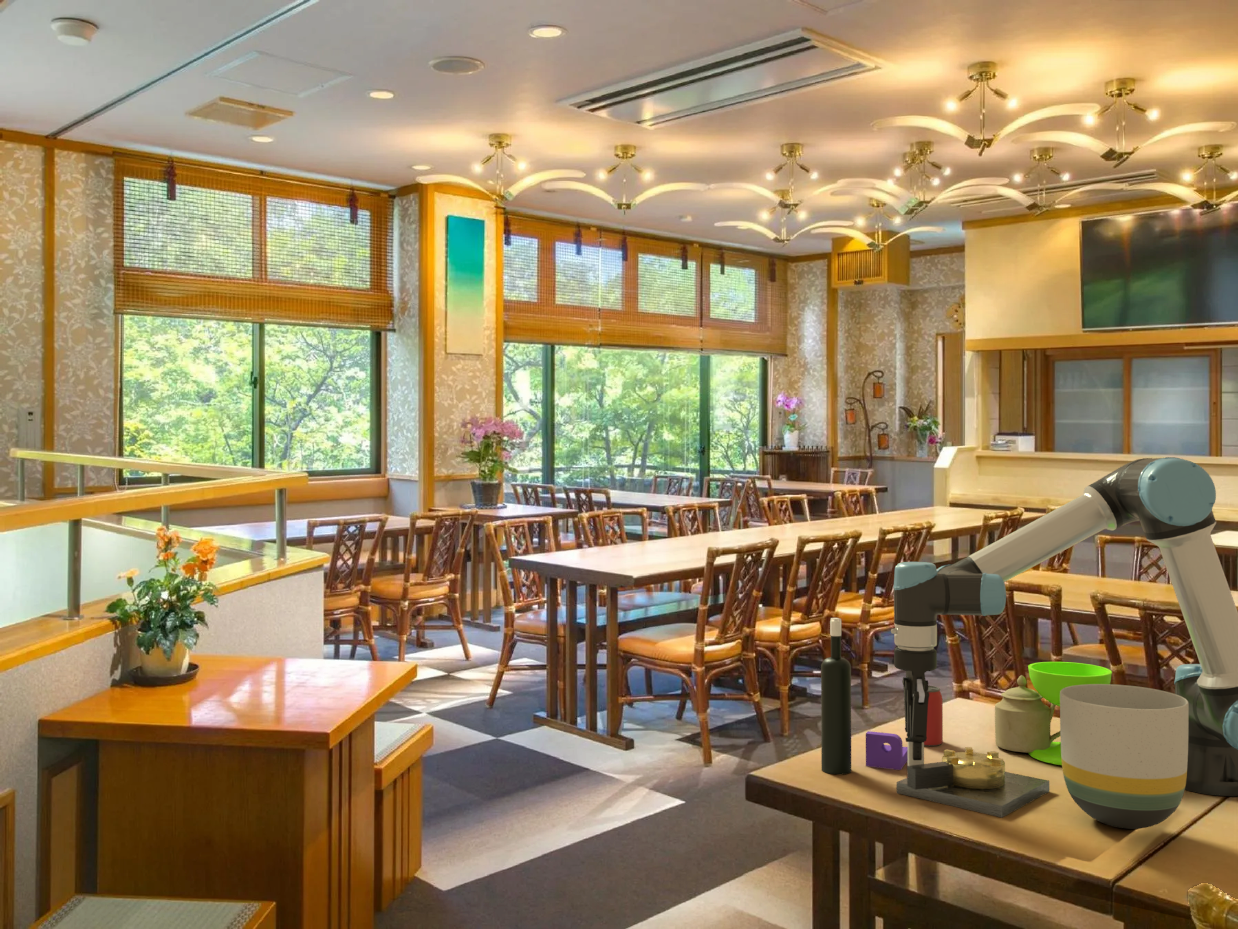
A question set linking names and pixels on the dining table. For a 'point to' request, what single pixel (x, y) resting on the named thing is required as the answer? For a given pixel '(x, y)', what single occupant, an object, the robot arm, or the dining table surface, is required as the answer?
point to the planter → (1124, 752)
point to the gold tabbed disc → (959, 771)
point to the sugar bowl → (1023, 720)
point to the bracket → (885, 751)
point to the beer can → (934, 717)
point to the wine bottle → (836, 707)
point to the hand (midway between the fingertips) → (915, 776)
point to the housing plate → (984, 794)
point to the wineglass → (1053, 680)
